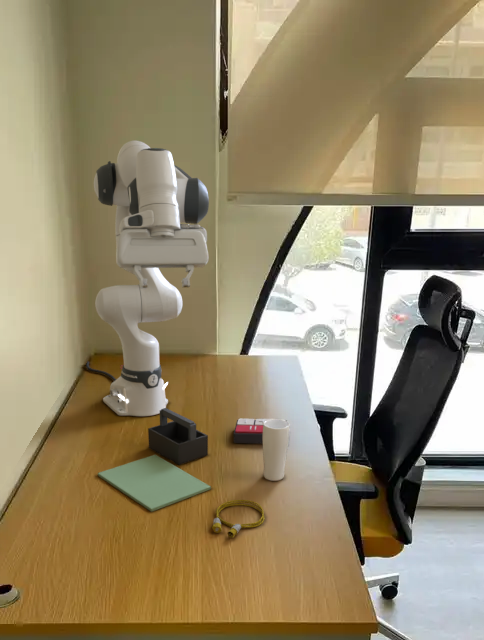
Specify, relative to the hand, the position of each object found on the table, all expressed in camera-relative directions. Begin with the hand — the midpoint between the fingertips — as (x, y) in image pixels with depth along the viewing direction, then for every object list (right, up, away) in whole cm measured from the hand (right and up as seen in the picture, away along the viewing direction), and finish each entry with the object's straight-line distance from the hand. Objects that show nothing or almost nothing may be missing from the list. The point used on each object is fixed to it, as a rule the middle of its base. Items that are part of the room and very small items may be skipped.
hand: (165, 287), depth 151 cm
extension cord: (+15, -52, +8) cm, 55 cm away
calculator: (+23, -31, +51) cm, 64 cm away
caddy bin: (-1, -35, +40) cm, 53 cm away
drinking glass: (+25, -42, +28) cm, 56 cm away
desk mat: (-5, -44, +23) cm, 50 cm away
